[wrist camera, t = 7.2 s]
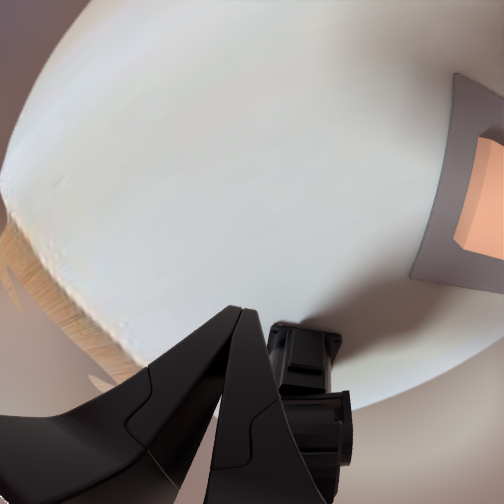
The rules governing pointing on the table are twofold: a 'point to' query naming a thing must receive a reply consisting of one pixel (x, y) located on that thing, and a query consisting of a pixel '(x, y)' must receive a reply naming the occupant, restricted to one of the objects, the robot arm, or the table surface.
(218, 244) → the table surface
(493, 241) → the tile
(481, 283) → the mat
